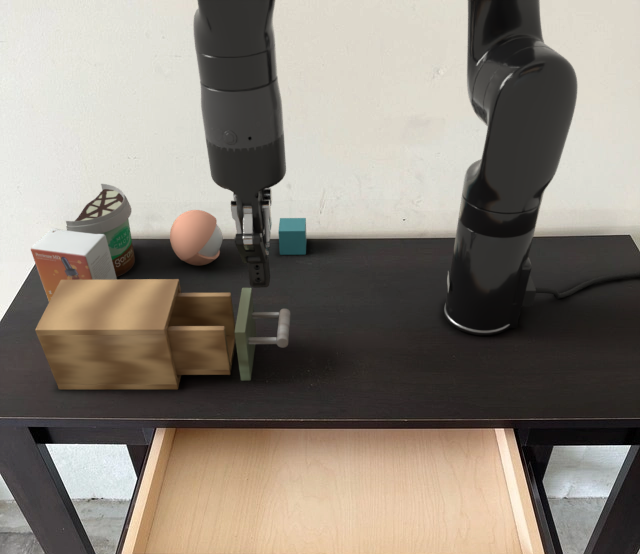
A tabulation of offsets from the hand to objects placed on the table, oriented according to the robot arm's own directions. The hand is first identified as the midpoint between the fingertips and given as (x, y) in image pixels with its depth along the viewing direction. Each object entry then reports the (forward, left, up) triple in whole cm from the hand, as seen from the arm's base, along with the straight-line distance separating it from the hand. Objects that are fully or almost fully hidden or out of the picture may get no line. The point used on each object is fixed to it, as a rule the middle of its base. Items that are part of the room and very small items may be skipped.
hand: (260, 283), depth 75 cm
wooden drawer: (+6, 0, -11) cm, 12 cm away
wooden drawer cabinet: (+18, 0, -12) cm, 21 cm away
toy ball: (+12, -24, -12) cm, 29 cm away
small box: (+26, -12, -12) cm, 31 cm away
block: (-2, -27, -12) cm, 30 cm away
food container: (+24, -23, -12) cm, 35 cm away
